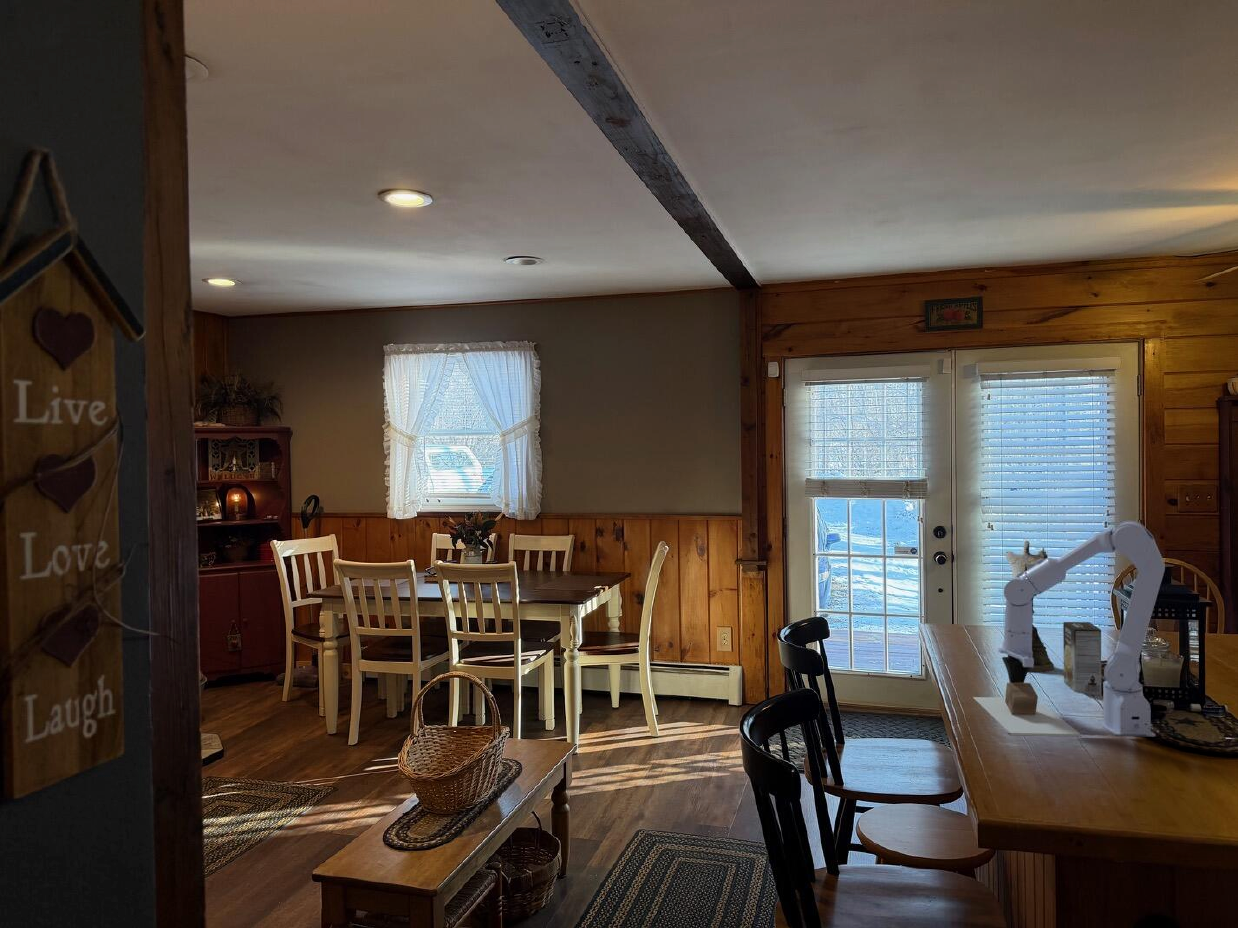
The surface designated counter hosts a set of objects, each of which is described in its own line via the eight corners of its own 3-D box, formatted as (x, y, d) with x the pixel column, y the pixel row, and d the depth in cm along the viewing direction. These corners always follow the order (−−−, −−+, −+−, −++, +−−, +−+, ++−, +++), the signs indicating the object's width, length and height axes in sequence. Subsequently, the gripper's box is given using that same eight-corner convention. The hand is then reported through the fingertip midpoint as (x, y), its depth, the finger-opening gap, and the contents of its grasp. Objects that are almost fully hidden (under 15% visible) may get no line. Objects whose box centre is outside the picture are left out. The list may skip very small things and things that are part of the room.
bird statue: (1071, 677, 221) (1069, 543, 221) (1017, 675, 224) (1015, 543, 223) (1052, 662, 237) (1050, 537, 237) (1002, 660, 240) (1000, 537, 240)
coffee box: (1062, 684, 215) (1062, 621, 215) (1090, 685, 214) (1089, 621, 214) (1074, 694, 206) (1073, 628, 206) (1103, 695, 205) (1102, 629, 205)
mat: (1080, 736, 176) (1080, 733, 176) (1010, 735, 178) (1010, 732, 178) (1034, 700, 202) (1034, 697, 202) (972, 699, 204) (972, 697, 204)
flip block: (1027, 700, 194) (1035, 715, 189) (1004, 700, 194) (1011, 714, 190) (1030, 682, 192) (1037, 696, 187) (1006, 682, 192) (1014, 696, 188)
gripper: (989, 622, 200) (988, 679, 200) (1010, 637, 185) (1008, 699, 186) (1021, 623, 199) (1019, 680, 199) (1044, 639, 184) (1042, 700, 185)
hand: (1016, 689), depth 192 cm, fingers closed, pressing on flip block
